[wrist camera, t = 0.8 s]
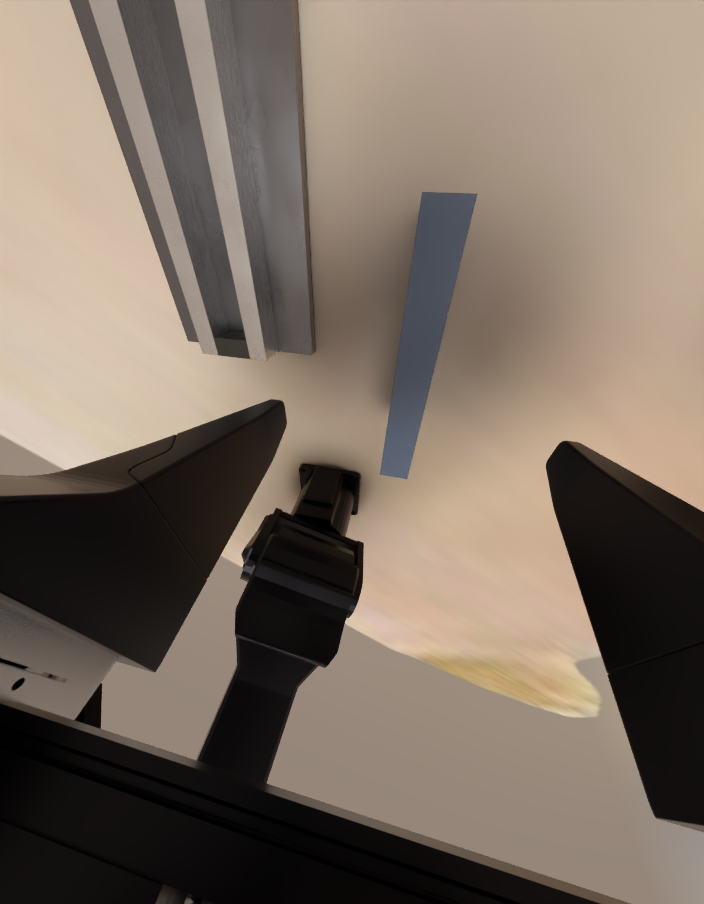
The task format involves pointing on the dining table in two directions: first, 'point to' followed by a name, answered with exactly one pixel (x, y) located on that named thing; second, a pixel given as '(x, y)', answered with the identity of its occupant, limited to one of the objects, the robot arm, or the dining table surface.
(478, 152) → the dining table surface
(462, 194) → the door panel
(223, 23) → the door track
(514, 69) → the dining table surface
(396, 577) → the dining table surface
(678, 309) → the dining table surface
